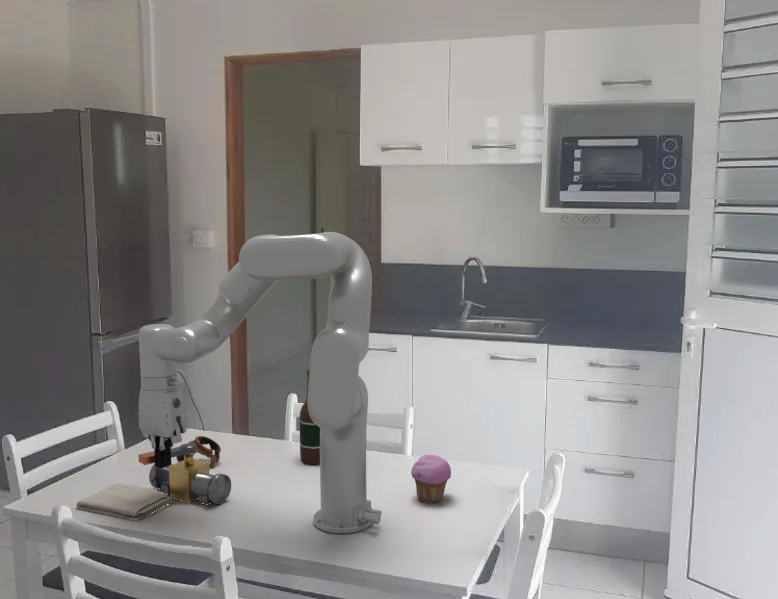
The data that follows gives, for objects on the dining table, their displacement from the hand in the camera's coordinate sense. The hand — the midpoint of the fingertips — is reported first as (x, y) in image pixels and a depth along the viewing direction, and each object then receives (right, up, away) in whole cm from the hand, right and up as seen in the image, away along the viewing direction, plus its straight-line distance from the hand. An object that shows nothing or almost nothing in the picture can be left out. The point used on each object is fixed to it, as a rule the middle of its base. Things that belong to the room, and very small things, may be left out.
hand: (163, 466), depth 165 cm
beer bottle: (+30, -6, +33) cm, 44 cm away
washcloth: (-9, -10, +3) cm, 14 cm away
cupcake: (+58, -9, +6) cm, 59 cm away
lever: (0, +1, +4) cm, 5 cm away
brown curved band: (0, -7, +29) cm, 30 cm away
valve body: (+3, -9, +9) cm, 13 cm away
